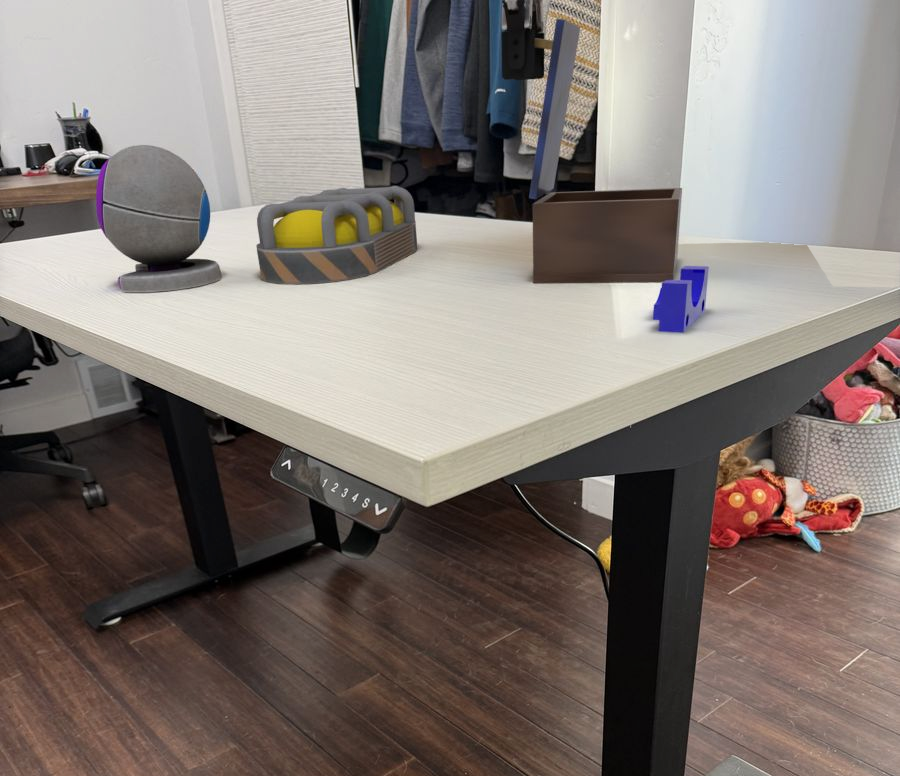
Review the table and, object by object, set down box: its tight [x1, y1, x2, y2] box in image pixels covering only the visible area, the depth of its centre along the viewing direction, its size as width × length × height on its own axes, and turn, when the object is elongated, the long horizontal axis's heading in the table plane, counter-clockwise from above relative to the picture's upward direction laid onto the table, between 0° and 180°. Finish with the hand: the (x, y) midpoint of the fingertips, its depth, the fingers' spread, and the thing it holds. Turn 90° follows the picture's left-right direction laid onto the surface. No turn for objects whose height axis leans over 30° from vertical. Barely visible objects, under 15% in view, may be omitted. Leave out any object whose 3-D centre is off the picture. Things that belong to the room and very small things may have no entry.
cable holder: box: [652, 265, 710, 334], centre depth 71 cm, size 8×4×4 cm, turn 154°
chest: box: [532, 187, 683, 284], centre depth 93 cm, size 15×12×8 cm
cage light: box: [256, 185, 418, 285], centre depth 110 cm, size 15×8×30 cm
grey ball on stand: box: [95, 144, 222, 293], centre depth 102 cm, size 13×13×15 cm
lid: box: [528, 18, 581, 200], centre depth 89 cm, size 15×12×6 cm
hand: (523, 76), depth 88 cm, fingers closed on lid, 5 cm apart
